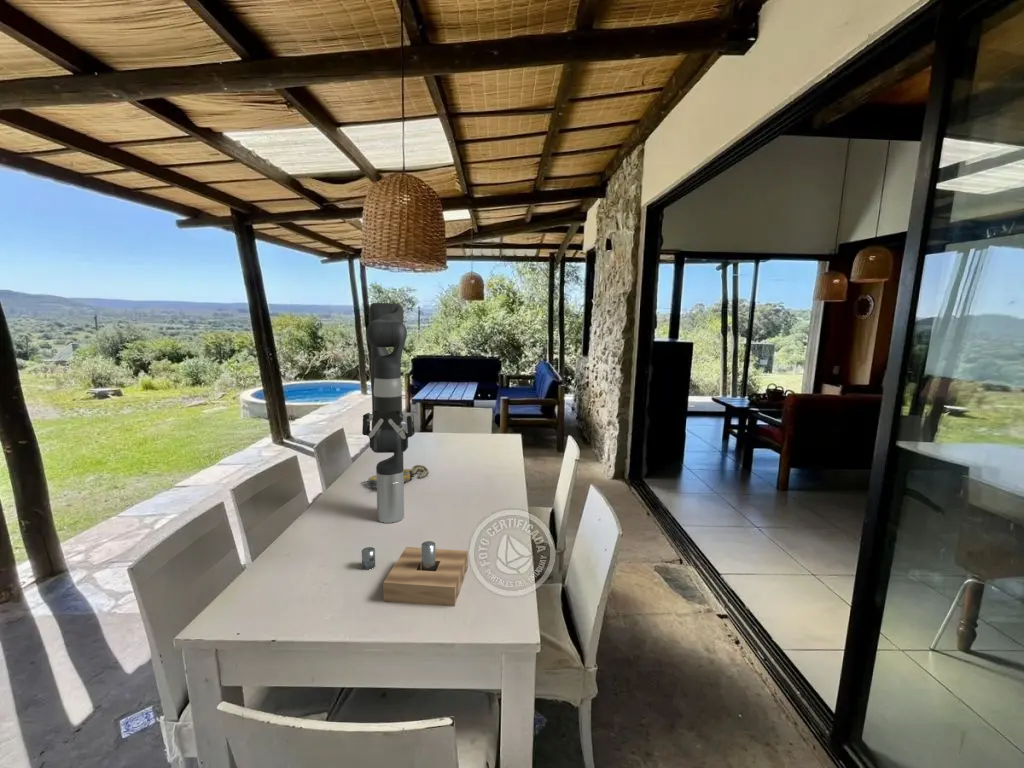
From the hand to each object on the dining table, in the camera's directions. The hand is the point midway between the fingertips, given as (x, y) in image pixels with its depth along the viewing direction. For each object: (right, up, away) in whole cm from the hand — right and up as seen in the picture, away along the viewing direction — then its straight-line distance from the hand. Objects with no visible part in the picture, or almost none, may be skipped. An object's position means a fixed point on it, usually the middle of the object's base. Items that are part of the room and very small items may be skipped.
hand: (388, 450), depth 127 cm
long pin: (+12, -35, -7) cm, 37 cm away
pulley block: (-14, -24, +69) cm, 75 cm away
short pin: (-6, -33, +1) cm, 34 cm away
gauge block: (+12, -35, -7) cm, 37 cm away
